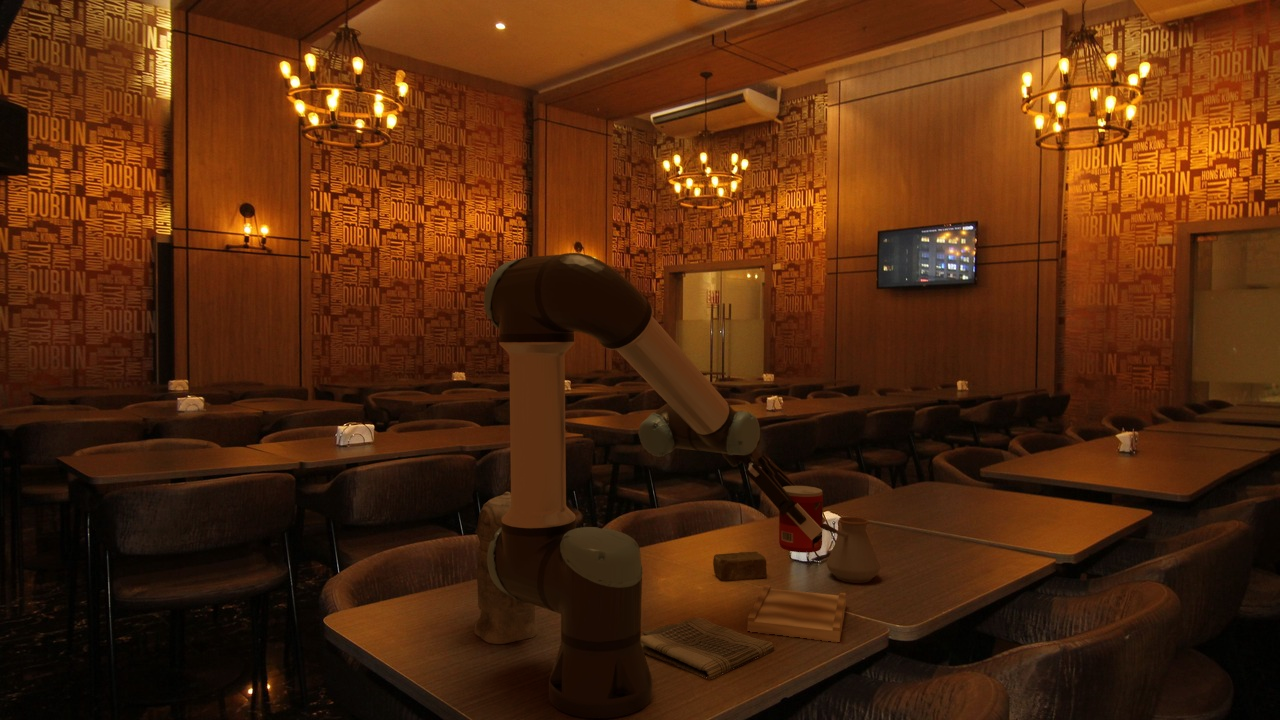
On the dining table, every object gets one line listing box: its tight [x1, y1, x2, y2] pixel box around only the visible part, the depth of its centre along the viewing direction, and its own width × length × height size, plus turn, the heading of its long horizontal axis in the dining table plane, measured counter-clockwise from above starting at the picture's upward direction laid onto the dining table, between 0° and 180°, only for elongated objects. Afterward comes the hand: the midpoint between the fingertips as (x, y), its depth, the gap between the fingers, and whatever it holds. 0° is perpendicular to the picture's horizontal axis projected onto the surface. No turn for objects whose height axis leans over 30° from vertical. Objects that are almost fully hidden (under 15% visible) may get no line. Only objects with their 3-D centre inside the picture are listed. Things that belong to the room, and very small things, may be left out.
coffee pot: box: [822, 516, 881, 584], centre depth 170 cm, size 21×12×15 cm, turn 131°
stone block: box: [712, 551, 768, 582], centre depth 174 cm, size 6×12×5 cm, turn 106°
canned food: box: [778, 485, 824, 554], centre depth 147 cm, size 8×8×11 cm
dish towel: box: [641, 617, 775, 680], centre depth 132 cm, size 19×18×3 cm
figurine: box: [474, 491, 539, 645], centre depth 139 cm, size 10×14×25 cm
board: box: [746, 584, 847, 643], centre depth 147 cm, size 20×16×3 cm
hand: (819, 529), depth 146 cm, fingers closed on canned food, 8 cm apart
